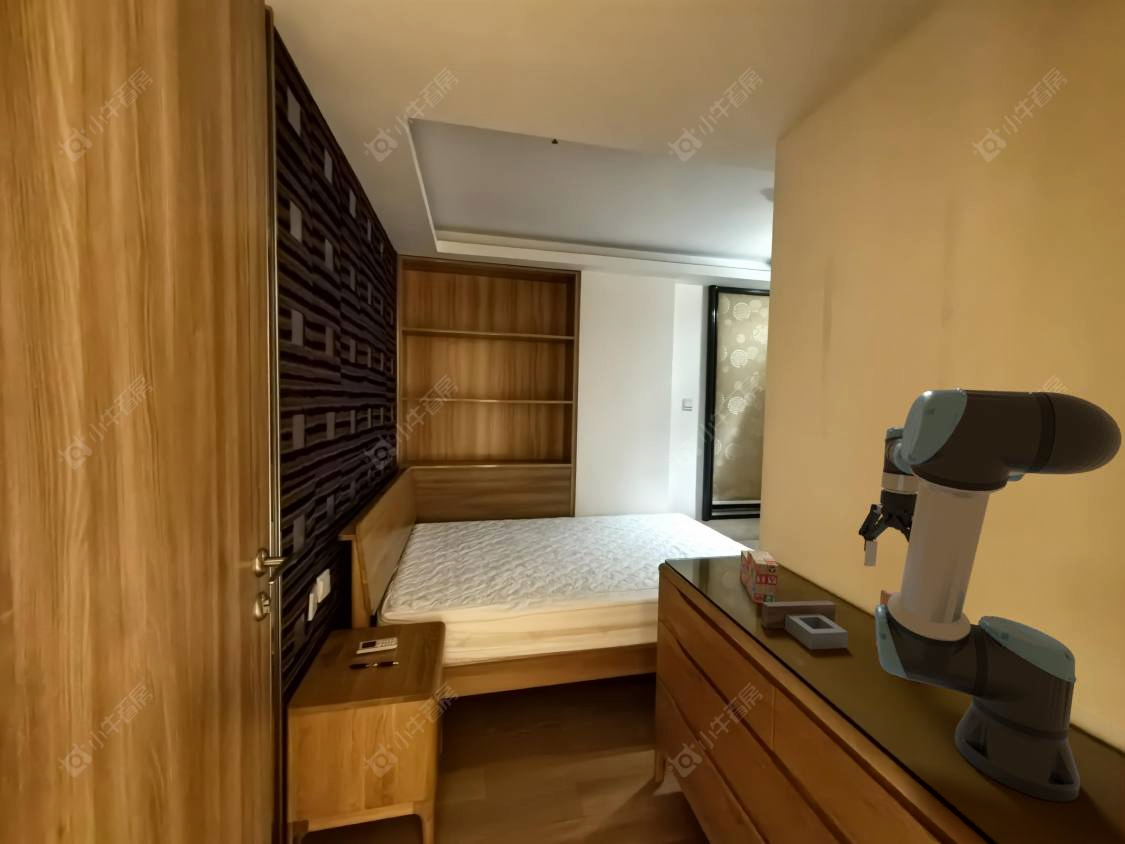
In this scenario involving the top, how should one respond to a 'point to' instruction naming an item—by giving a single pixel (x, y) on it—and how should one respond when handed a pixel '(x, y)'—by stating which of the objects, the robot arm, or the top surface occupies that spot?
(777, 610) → the wall
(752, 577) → the stack of blocks
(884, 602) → the dowel
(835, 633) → the grey square frame
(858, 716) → the top surface
